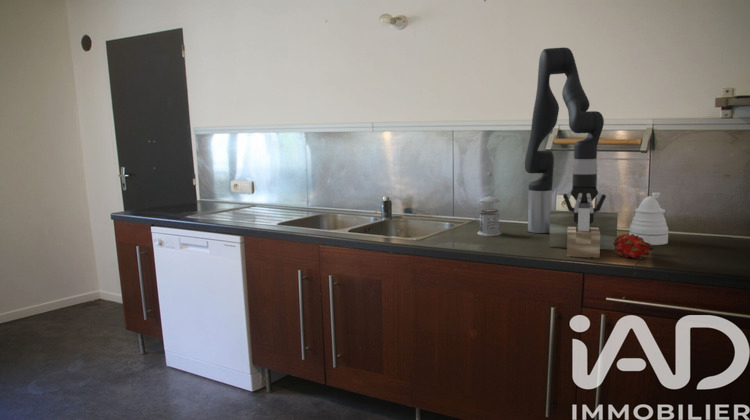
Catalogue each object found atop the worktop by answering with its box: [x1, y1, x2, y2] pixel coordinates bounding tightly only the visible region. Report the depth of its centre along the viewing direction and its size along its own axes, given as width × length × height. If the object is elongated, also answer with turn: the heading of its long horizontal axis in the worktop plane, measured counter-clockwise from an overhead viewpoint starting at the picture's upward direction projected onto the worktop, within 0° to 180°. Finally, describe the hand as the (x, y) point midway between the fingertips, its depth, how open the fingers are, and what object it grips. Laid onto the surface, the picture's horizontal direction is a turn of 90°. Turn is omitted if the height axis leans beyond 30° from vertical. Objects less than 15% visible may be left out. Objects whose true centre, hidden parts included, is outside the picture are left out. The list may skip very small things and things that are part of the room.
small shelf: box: [548, 210, 619, 259], centre depth 184 cm, size 16×22×13 cm
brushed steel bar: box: [578, 202, 590, 232], centre depth 182 cm, size 7×4×12 cm, turn 160°
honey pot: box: [628, 192, 669, 246], centre depth 199 cm, size 13×13×18 cm
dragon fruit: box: [613, 233, 654, 260], centre depth 175 cm, size 8×8×12 cm
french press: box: [473, 172, 502, 237], centre depth 221 cm, size 10×12×25 cm
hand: (583, 223), depth 182 cm, fingers closed on brushed steel bar, 3 cm apart
